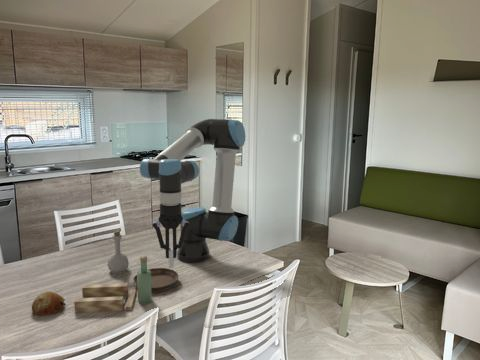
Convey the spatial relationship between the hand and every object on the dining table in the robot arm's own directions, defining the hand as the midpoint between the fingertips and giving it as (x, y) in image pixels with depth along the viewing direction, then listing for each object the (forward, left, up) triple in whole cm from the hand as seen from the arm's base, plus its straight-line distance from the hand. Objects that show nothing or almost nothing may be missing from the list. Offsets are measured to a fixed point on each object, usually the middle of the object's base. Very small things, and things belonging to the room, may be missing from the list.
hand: (171, 266), depth 148 cm
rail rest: (+23, 0, -13) cm, 27 cm away
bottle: (+10, 0, -13) cm, 16 cm away
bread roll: (+42, +3, -14) cm, 45 cm away
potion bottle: (+24, -28, -13) cm, 39 cm away
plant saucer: (+7, -14, -14) cm, 21 cm away
